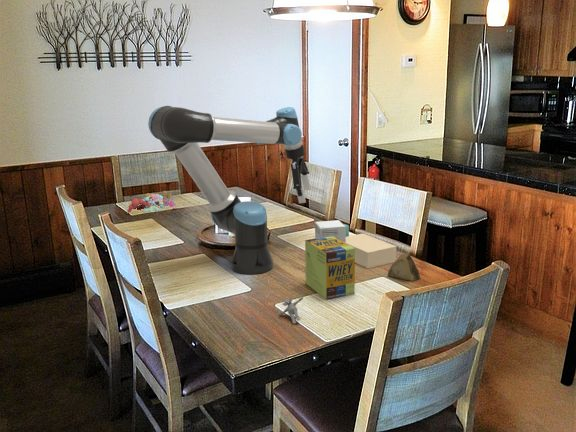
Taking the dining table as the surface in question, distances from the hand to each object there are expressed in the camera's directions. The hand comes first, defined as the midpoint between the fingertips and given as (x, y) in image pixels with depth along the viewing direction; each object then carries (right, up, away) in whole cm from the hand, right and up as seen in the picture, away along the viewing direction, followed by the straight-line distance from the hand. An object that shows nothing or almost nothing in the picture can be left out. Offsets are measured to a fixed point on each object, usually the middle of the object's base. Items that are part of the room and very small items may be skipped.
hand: (305, 196), depth 228 cm
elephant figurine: (-5, -38, -66) cm, 76 cm away
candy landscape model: (-78, -6, +64) cm, 101 cm away
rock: (+32, -29, -37) cm, 57 cm away
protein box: (+7, -32, -45) cm, 56 cm away
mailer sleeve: (+22, -24, -17) cm, 37 cm away
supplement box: (+8, -27, -27) cm, 40 cm away
